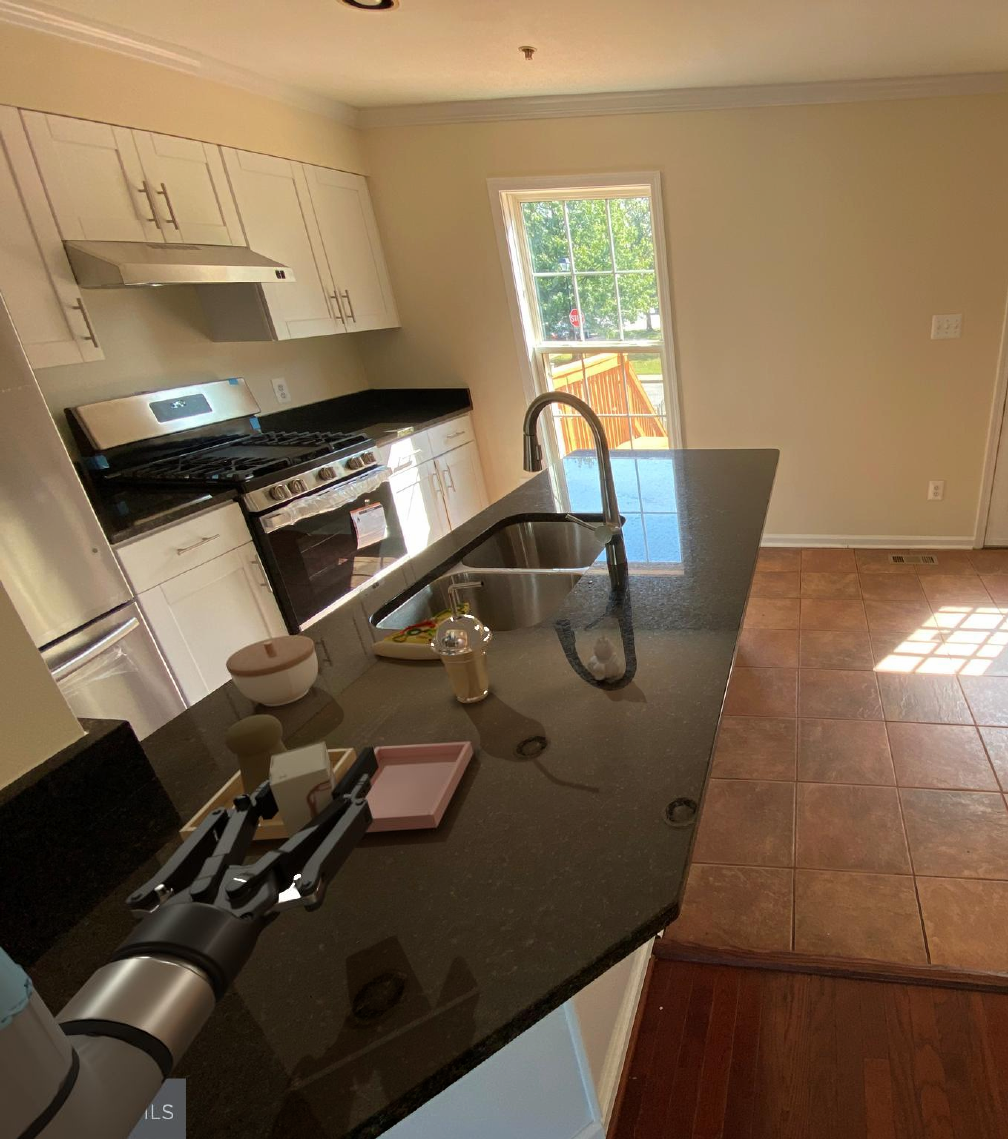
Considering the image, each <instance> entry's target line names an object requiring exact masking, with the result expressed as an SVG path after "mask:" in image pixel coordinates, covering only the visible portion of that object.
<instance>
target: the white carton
mask: <svg viewBox="0 0 1008 1139" xmlns="http://www.w3.org/2000/svg"><path fill="white" fill-rule="evenodd" d="M327 748H328V747H327V745H326V742H325V741H320V742H316V743H311V744H309V745H305V746H301V747H297V748H294V749H291V750H287V752H284V753H280V754H277V755H273V756H272V757H271V764H270V787H271V790H272V793H273V795H274V798H275V801H276V804H277V806H278V809H279V812H280V815H281V818H282V820H283V823H284V826H285V828H286V831H287V834H288V837H289V838H288V840H289V839H290V838H292V837H293V836H294V835H295V834H296V833H297V832H298V831H300V830H301V829H302V828H303V827H304V826H305V825H306V824H308V823H309V822H310V821H311V820H312V819H313V818H314V817H316V816H317V815H318V814H319V813H320V812H321V811H322V810H324V809H325V808H326V807H327V806H328V805H329V804H330V803H332V802H333V801H334V800H333V797H332V794H331V793H332V791H333V790H334V789H335V787H336V786H337V785H338V784H337V781H336V778H335V774H334V771H333V768H332V765H331V761H330V758H329V755H328V751H327V750H328V749H327Z"/></svg>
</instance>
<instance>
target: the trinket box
mask: <svg viewBox="0 0 1008 1139" xmlns="http://www.w3.org/2000/svg"><path fill="white" fill-rule="evenodd" d="M315 649H316V646H315V643H314V640H313V639H311V638H310V637H308V636H305V635H295V634H294V635H282V636H276V637H270V638H267V639H263V640H259V641H257V642H254V643H251V644H248V645H246V646H244V647H242V648H240V649H239V650H237V651H235V652H234V653H233V654H231V655H230V656H229V657H228V659H227V660H226V663H225V666H226V670H227V671H228V673H229V675H230V677H231V679H232V682H233V683H234V685H235V686H236V688H237V689H238V690H239V692H240V693H241V694H242V695H243V696H244V697H246V698H247V699H249V700H251V701H253V702H256V703H259V704H262V705H263V706H265V707H280V706H284V705H287V704H290V703H293V702H296V701H297V700H299V699H301V698H303V697H304V696H305V695H307V694H308V693H309V690H310V688H311V687H312V686H313V685H314V683H315V681H316V678H317V676H318V671H319V663H318V656H317V652H316V650H315Z"/></svg>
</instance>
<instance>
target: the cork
mask: <svg viewBox="0 0 1008 1139" xmlns="http://www.w3.org/2000/svg"><path fill="white" fill-rule="evenodd" d="M282 736H283V725H282V723H281V722H280V720H279V719H278V718H277V717H275V716H273V715H270V714H256V715H255V714H254V715H251V716H248V717H247V716H246V717H245V718H243V719H240V720H239V721H237V722H235V723H234V724H232V725H231V726H230V727H229V728H228V730H227V731H226V733H225V745H226V747H227V749H228V750H229V751H230V752H231V753H232V754H233V755H236V756H237V760H238V766H239V770H240V772H241V778H242V783H243V788H244V794H248V795H249V796H251V795H252V794H253V792H255V790H256V789H258V787H259V786H260V785H261V784H262V783H263V782H265V781H266V780H270V764H271V757H272V756H273V755H277V754H280V753H284V752H287V751H288V749H287V748H286V746H285V744H284V742H283V741H282V739H281V738H282Z"/></svg>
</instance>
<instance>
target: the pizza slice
mask: <svg viewBox="0 0 1008 1139" xmlns="http://www.w3.org/2000/svg"><path fill="white" fill-rule="evenodd" d="M456 606H457V611H458V614H467V615H469V612H470V604H469V602H465V603H464V602H463V603H462V602H461V603H456ZM451 616H453V612H452V608H451V607H450V608H446V609H443V610H442V611H440V612H439V613H437V614H436V615H435V616H433V617H431V618H425V619H424V620H423V621H422V622H420V623H417V624H412V625H408V626H407V627H405V628H404V629H402V630H400V631H396V632H393V633H391V634H388V635H386V636H385V637H384V638H383V639H382V641H377V642H373V644H372V645H371V651H372V653H373V654H374V655H377V656H382V657H387V658H392V659H402V660H413V661H421V660H422V661H424V660H427V661H428V660H441V658H440V656H439V654H437V653H435V652H434V651H432V649H431V640H432V638H433V637H434V636H435V634H436V631H437V629H438V626H439V625H440V624H441V623H442V622H443V621H444V620H445V619H447V618H448V617H451Z"/></svg>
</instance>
